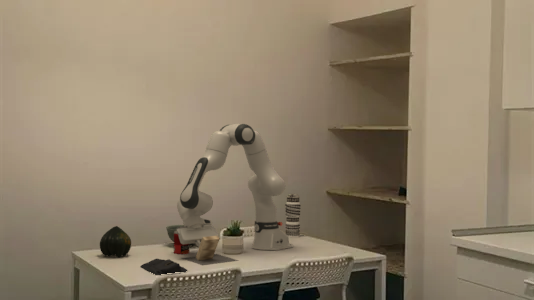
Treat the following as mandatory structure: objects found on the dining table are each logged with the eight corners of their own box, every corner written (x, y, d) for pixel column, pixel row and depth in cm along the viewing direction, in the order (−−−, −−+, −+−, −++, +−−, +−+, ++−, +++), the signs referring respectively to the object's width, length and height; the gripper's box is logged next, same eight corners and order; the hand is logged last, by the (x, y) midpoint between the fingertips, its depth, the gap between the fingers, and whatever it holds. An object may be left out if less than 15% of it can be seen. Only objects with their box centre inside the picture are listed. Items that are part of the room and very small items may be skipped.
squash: (111, 249, 298) (126, 223, 307) (89, 247, 306) (104, 221, 315) (128, 265, 307) (142, 239, 316) (106, 263, 315) (120, 238, 324)
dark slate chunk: (169, 264, 295) (169, 254, 295) (189, 273, 276) (189, 262, 276) (137, 267, 287) (137, 257, 287) (156, 277, 268) (156, 266, 268)
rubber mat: (216, 254, 317) (216, 253, 317) (238, 261, 301) (239, 260, 301) (181, 258, 306) (181, 258, 306) (202, 266, 290) (202, 265, 290)
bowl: (159, 244, 345) (159, 225, 345) (194, 241, 357) (194, 223, 356) (176, 250, 328) (176, 230, 328) (211, 246, 339) (212, 228, 339)
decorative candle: (288, 237, 372) (288, 195, 372) (282, 235, 381) (283, 193, 381) (302, 237, 375) (303, 194, 375) (296, 234, 384) (297, 193, 384)
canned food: (183, 255, 314) (183, 233, 314) (170, 253, 318) (170, 231, 318) (192, 253, 321) (192, 231, 320) (180, 251, 325) (180, 230, 324)
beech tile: (210, 255, 307) (217, 235, 302) (212, 258, 305) (219, 238, 300) (195, 256, 302) (202, 237, 297) (198, 260, 300) (205, 240, 295)
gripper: (177, 223, 303) (187, 246, 296) (214, 220, 315) (224, 242, 308) (173, 231, 307) (182, 254, 299) (209, 228, 319) (219, 250, 311)
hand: (204, 248), depth 304 cm, fingers closed
